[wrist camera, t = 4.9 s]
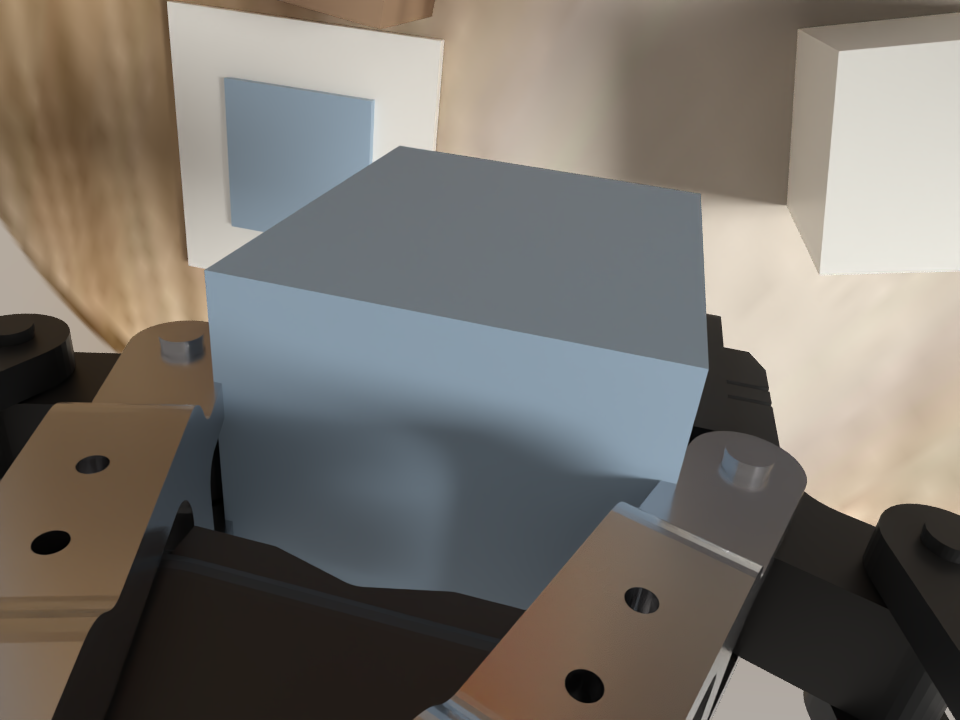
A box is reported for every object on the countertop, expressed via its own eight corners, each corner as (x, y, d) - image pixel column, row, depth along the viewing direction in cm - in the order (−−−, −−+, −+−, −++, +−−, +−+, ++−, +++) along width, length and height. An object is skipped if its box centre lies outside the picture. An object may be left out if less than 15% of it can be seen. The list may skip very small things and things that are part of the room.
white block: (1002, 7, 20) (1118, 25, 15) (970, 195, 22) (1061, 268, 17) (797, 28, 21) (838, 51, 16) (786, 205, 23) (819, 274, 18)
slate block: (700, 193, 12) (709, 368, 7) (638, 451, 14) (609, 724, 9) (399, 145, 13) (204, 270, 8) (388, 397, 15) (233, 621, 10)
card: (444, 39, 23) (438, 41, 23) (423, 306, 28) (417, 314, 27) (174, 0, 25) (161, 1, 24) (194, 261, 29) (184, 268, 28)
